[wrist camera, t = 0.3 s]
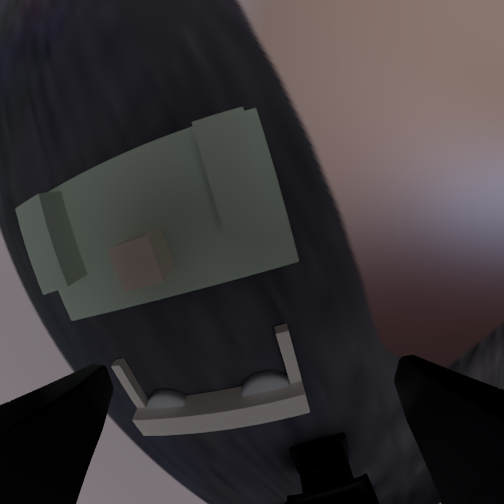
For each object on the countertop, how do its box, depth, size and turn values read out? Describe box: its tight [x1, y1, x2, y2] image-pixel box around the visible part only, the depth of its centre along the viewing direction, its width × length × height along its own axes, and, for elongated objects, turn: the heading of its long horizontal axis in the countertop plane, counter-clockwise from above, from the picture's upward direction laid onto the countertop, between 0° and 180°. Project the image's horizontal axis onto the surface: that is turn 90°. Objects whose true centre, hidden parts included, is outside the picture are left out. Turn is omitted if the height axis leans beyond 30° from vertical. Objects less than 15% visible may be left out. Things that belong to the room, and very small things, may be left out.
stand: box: [16, 107, 299, 321], centre depth 18 cm, size 11×20×4 cm, turn 106°
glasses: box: [111, 323, 310, 436], centre depth 22 cm, size 9×16×3 cm, turn 106°
